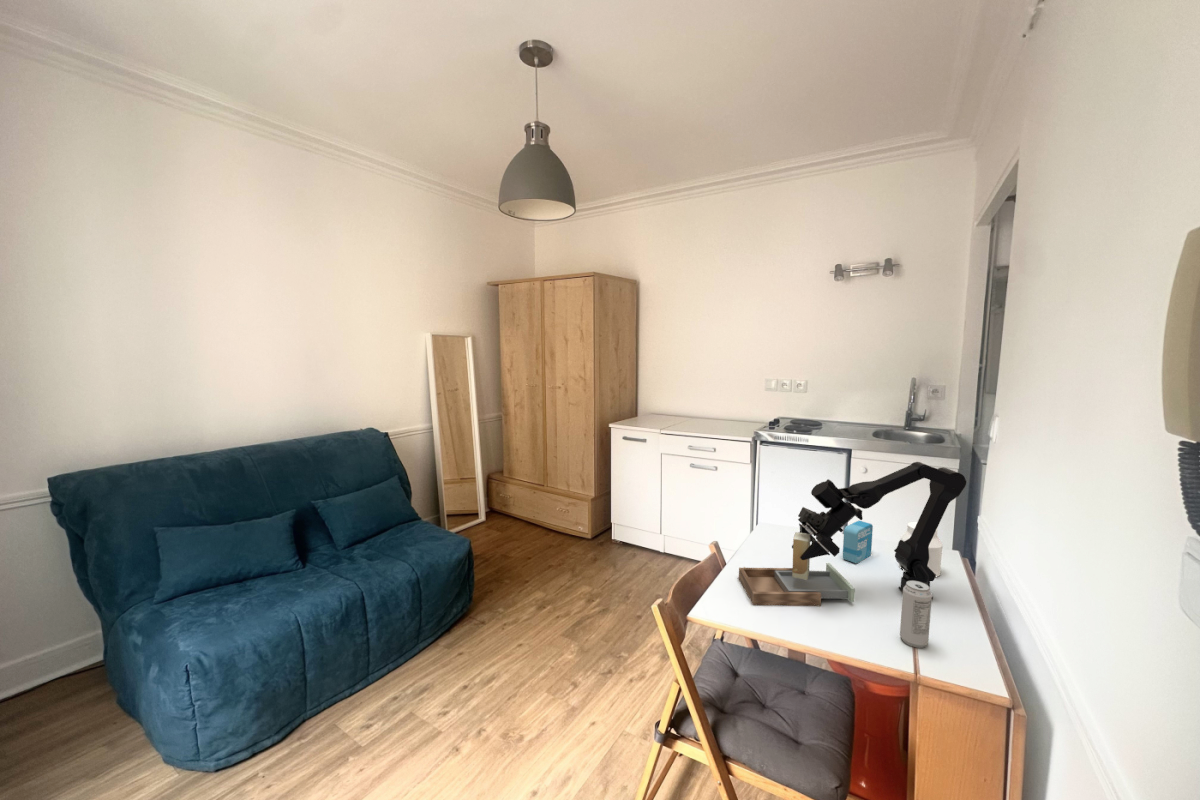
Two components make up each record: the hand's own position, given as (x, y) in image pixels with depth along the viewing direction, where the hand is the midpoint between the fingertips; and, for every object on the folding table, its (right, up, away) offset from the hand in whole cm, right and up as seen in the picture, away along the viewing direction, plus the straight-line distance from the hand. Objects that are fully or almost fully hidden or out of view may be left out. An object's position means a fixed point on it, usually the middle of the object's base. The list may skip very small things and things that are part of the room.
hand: (796, 553), depth 146 cm
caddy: (-5, -12, +1) cm, 13 cm away
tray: (+5, -11, +1) cm, 12 cm away
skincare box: (+1, -7, +1) cm, 7 cm away
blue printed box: (+31, -9, +24) cm, 40 cm away
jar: (+47, -10, +15) cm, 50 cm away
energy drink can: (+20, -15, -24) cm, 34 cm away
